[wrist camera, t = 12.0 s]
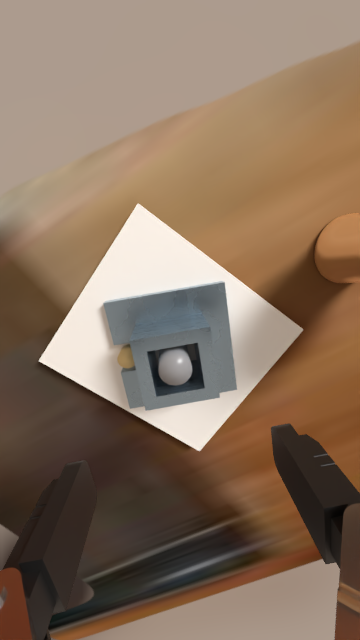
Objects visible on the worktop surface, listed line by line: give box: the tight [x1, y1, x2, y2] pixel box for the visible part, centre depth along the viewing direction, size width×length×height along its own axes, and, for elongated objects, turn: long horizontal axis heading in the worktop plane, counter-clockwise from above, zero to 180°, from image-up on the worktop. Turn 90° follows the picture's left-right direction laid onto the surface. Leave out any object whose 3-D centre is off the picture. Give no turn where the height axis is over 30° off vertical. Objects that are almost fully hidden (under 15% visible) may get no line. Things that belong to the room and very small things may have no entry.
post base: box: [39, 204, 304, 451], centre depth 21 cm, size 18×16×6 cm
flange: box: [103, 281, 237, 411], centre depth 20 cm, size 10×10×5 cm
